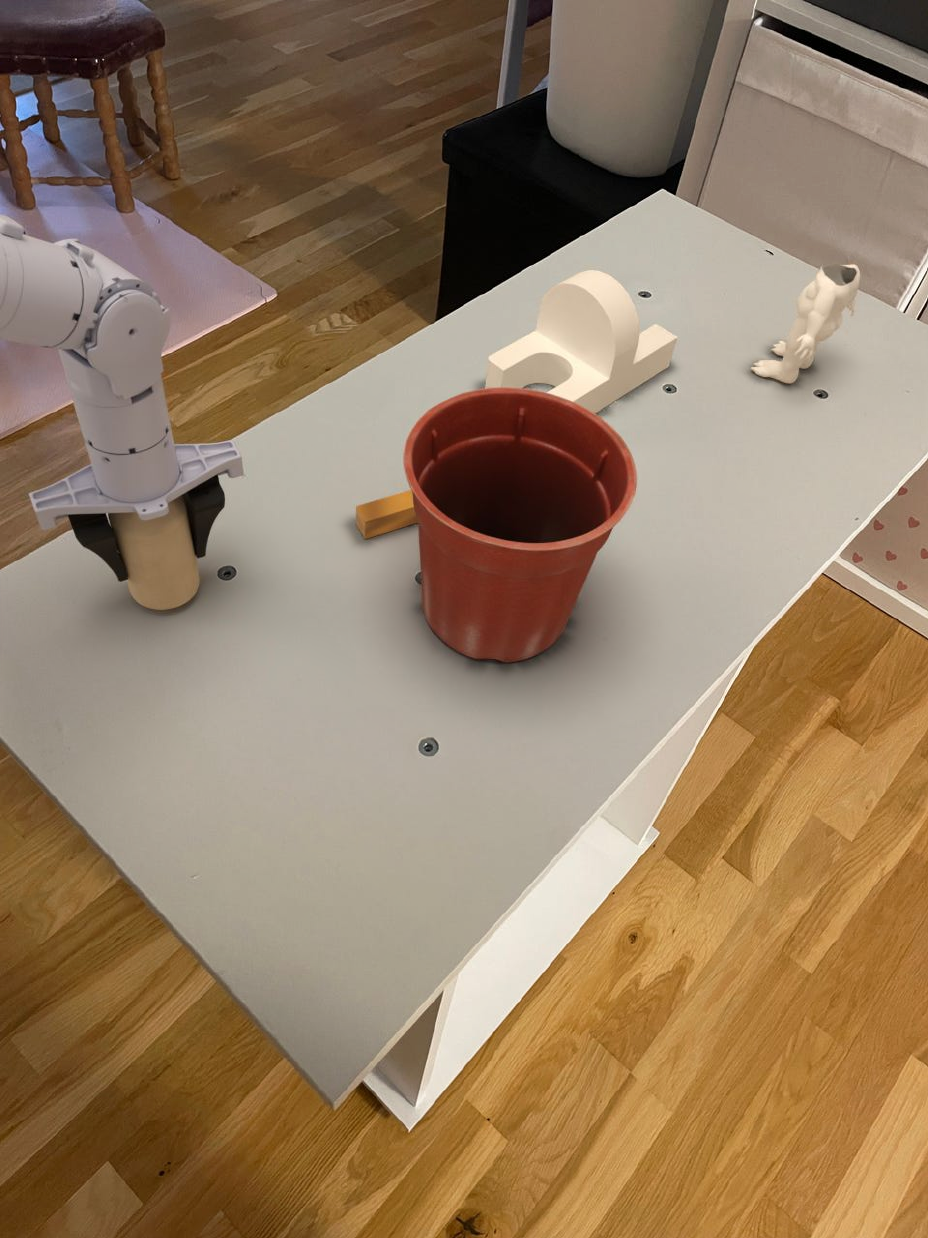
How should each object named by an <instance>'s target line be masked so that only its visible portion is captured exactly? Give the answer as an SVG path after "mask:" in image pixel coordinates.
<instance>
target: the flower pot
mask: <svg viewBox="0 0 928 1238" xmlns="http://www.w3.org/2000/svg"><path fill="white" fill-rule="evenodd" d="M402 457H403V469H404V474H405V478H406V481H407V484H408V486H409V489H410V490H412V494H413V505H414V509H415V513H416V516H417V518H418V523H417V527H418V546H419V548H418V549H419V562H420V581H421V582H420V584H421V585H420V587H421V607H422V611H423V615H424V617H425V619H426V622H427V623H428V625H429V627H430V628H431V629H432V631H433V632H434V633H435V634H436V636H437V637H438V638H439V639H440V640H441V641H442V642H443V643H444V644H446V645H448V646H449V647H450V648H451V649H453V650H455V651H456V652H458V653H460V654H462V655H464V656H466V657H469V658H471V659H472V658H473V659H475V660H481V659H490V660H491V659H492V660H497V661H501V662H503V663H513V662H520V661H523V660H527V659H530V658H532V657H534V656H536V655H539V654H541V653H542V652H544V651H546V650H547V649H548V648H550V647H551V646H552V645H553V644H554V643H556V641H557V640H558V639H559V638H560V636H561V635H562V634H563V632H564V629H565V628H566V626H567V623H568V621H569V619H570V617H571V614H572V612H573V610H574V607H575V605H576V602H577V601H578V598H579V595H580V593H581V592H582V589H583V587H584V584H585V583H586V580H587V578H588V575H589V573H590V570H591V569H592V567H593V563H594V562H595V559H596V557H597V555H598V553H599V552H600V550H601V549H602V548H603V547H604V546H605V545H606V543H607V541H608V540H609V538H610V535H611V534H612V531H613V529H614V527H615V526H616V525H617V524H618V523H619V522H621V520H622V519H623V517H624V516H625V515H626V513H627V512H628V511H629V509H630V507H631V506H632V504H633V502H634V498H635V496H636V492H637V486H638V473H637V467H636V463H635V460H634V457H633V454H632V452H631V450H630V449H629V447H628V445H627V443H626V442H625V440H624V439H623V438H622V436H621V435H620V434H619V433H618V432H617V430H615V428H614V427H612V426H611V425H610V424H609V423H608V422H607V421H605V419H603V418H602V417H600V416H599V415H598V414H597V413H595V414H594V413H593V412H591V411H590V410H588V409H586V408H584V407H583V406H581V405H579V404H576V403H574V402H572V401H570V400H567V399H564V398H562V397H559V396H556V395H553V394H549V393H547V392H545V391H541V390H536V389H530V388H509V387H497V388H485V387H484V388H480V389H474V390H473V389H472V390H469V391H464V392H462V393H460V394H456V395H455V396H452V397H450V398H447V399H445V400H444V401H441V402H439V403H437V404H436V405H434V406H433V407H431V408H430V409H428V410H427V411H426V412H425V413H424V414H423V415H421V417H420V418H419V419H418V420H417V421H415V423H414V424H413V427H412V428H411V429H410V432H409V433H408V436H407V437H406V440H405V443H404V448H403V456H402Z"/></svg>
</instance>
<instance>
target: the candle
mask: <svg viewBox="0 0 928 1238" xmlns="http://www.w3.org/2000/svg"><path fill="white" fill-rule="evenodd" d="M168 507H169V512H168V514H166V515H164V516H161V517H157V518H154V519H150V520H141V519H140V518H139V517H138V514H137V513H135V512H128V513H107V518H108V521H109V523H110V526H111V528H112V531H113V533H114V536H115V540H116V545H117V549H118V553H119V556H120V558H121V561H122V563H123V565H124V568H125V570H126V573H127V577H128V580H126V584H127V587H128V590H129V593H130V594H131V596H132V598H133V600H134V601H136V602H137V603H138V605H140V606H143V607H145V608H147V609H151V610H156V611H157V610H158V611H162V610H163V611H166V610H171V609H176V608H178V607H180V606H183V605H185V604H186V603H188V602H189V601H190V600H192V598H193V597H194V596H195V595H196V593H198V589H199V587H200V579H201V578H200V572H199V565H198V560H197V557H196V555H195V550H194V545H193V540H192V535H191V530H190V525H189V520H188V515H187V510H186V505H185V501H184V499H183V497H182V496H179V497H177V498H176V499H174V500H172V501H170V502H169V503H168Z"/></svg>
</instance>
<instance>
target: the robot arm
mask: <svg viewBox="0 0 928 1238" xmlns="http://www.w3.org/2000/svg"><path fill="white" fill-rule="evenodd" d="M24 232H25V228H24V226H22V225H21V224H20V223H18V222H16V221H15V220H14V219H12V218H11V217H9V216H7V215H4V214H1V213H0V340H4V341H9V342H14V343H18V344H24V345H29V346H34V347H39V348H44V349H49V350H58V354H59V357H60V360H61V364H62V368H63V371H64V375H65V380H66V382H67V385H68V389H69V392H70V397H71V400H72V403H73V407H74V410H75V414H76V417H77V420H78V423H79V424H78V425H79V427H80V431H81V435H82V438H83V441H84V445H85V448H86V451H87V454H88V458H89V459H88V460H89V462H90V464H88V465H86V466H84V467H83V468H81V469H79V470H77V471H75V472H73V473H72V474H69V475H68V476H66V477H64V478H62V479H60V480H58V481H57V482H55V483H52V484H50V485H48V486H46V487H44V488H41V489H37V490H34V491H31V492H29V493H28V496H29V499H30V502H31V504H32V508H33V510H34V513H35V516H36V518H37V521H38V525H39V527H40V530H41V531H46V530H50V529H53V528H56V527H57V526H58V521H59V520H61V519H65V518H68V521H69V524H70V526H71V528H72V531H73V534H74V536H75V538H76V540H77V542H78V543H79V544H80V545H81V546H82V547H83V548H84V549H87V550H89V551H91V552H92V553H94V554H95V555H97V556H98V557H99V558H101V560H102V561H103V562H105V564H106V565H107V566H108V567H109V568H110V569H111V571H112V572H113V573H114V575H115V576H116V578H117V582H120V583H121V582H122V583H123V582H124V581H127V580H128V577H127V573H126V570H125V568H124V565H123V563H122V561H121V558H120V556H119V553H118V549H117V545H116V540H115V536H114V533H113V531H112V528H111V525H110V522H109V518H108V513H128V512H135V513H137V514H138V517H139V518H140V519H141V520H150V519H154V518H157V517H161V516H164V515H166V514H168V512H169V507H168V503H169V502H170V501H172V500H174V499H176V498H177V497H179V496H182V497H183V499H184V501H185V505H186V510H187V515H188V520H189V525H190V530H191V535H192V540H193V545H194V550H195V555H196V560H197V559H202V558H205V557H206V554H207V546H208V541H209V536H210V534H211V530H212V528H213V525H214V523H215V522H216V519H217V518H218V516H219V515H220V513H221V512H222V511H223V509H224V508H225V505H226V494H225V491H224V489H223V486H222V484H221V483H220V478H219V477H220V476H222V475H227V477H228V478H229V479H235V478H238V477H242V476H244V475H245V474H244V466H243V457H242V454H241V452H240V450H239V449H238V447H237V445H236V444H235V441H234V440H233V439H229V440H225V441H220V442H219V441H218V442H210V443H209V442H208V443H175V440H174V435H173V430H172V425H171V424H172V423H171V418H170V413H169V409H168V408H169V407H168V403H167V397H166V392H165V386H164V382H163V378H162V373H164V365H163V359H162V354H163V350H164V347H165V344H166V342H167V339H168V337H169V334H170V329H171V323H172V322H171V321H172V320H171V319H172V316H171V315H172V314H171V313H172V312H171V309H170V308H166V307H165V306H164V305H162V302H161V300H160V297H159V295H158V293H156V292H155V289H154V288H153V287H152V286H151V284H148V283H147V282H145V281H143V280H142V279H141V278H139V277H137V276H136V275H135V274H133V273H131V272H130V271H129V270H127V269H125V268H124V267H122V266H121V265H120V264H118V263H116V262H114V261H113V260H111V259H110V258H108V257H107V256H105V255H104V254H103V253H101V252H99V251H98V250H96V249H93V248H91V247H89V246H87V245H84V244H83V243H82V242H81V241H80V240H79V239H78V238H66V239H62V240H61V239H60V240H58V241H55V242H50V241H47V240H45V239H40V238H38V237H37V238H36V237H33V236H30V235H28V234H25V233H24ZM57 520H58V521H57Z"/></svg>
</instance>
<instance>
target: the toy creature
mask: <svg viewBox="0 0 928 1238" xmlns="http://www.w3.org/2000/svg"><path fill="white" fill-rule="evenodd" d="M860 281H861V271H860V269H859V267H858V265H857V264H853V263H851V264H838V263H834V264H821V266H820V268H819V271H818V272H817V273H816V276H815V278H814V279H813V280H812V281H811V282H810V283H809V284H807V285H806V286H805V287H804V289H802V291H801V292H800V294H799V296H798V299H797V301H796V302H797V303H796V309H797V316H796V317H795V319H794V321H793V323H792V325H791V328H790V329H789V333H788V336H787V338H786V339H785V340H778V343H775V344H773V348H771V349H770V350H771V351H772V352H773V353H774V354H775V355H777V356H781V357H783V358H782V360H781V361H779V360H775V359H769V360H768V359H761V360H758V361H757V362H754V363H753V365H754V366H751V367H750V369H751V370H752V371H753V372H754V374H755V375H757V376H760V377H762V378H772V379H774V380H776V381H779V382H781V383H785V384H793V383H795V382H796V381H797V379H798V377H799V374H800V369H802V370H803V369H805V370H806V369H808V368H810V367H811V365H812V363H813V361H814V358H815V357H814V356H815V353H816V351H817V350H818V348H819V345H820V342H826V341H827V340H828V339H829V338H831V337H832V336H833V334H834V333H835V332H836V331H838V330H839V329H840V327H841V325H842V323H843V314H842V312H843V311H844V310H845V309H846V308H847V309H848V311H849V312H851V313H850V314H849V315H850V317H853V316H854V314H855V307H856V297H857V294H858V291H859V287H860V286H859V285H860Z"/></svg>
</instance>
